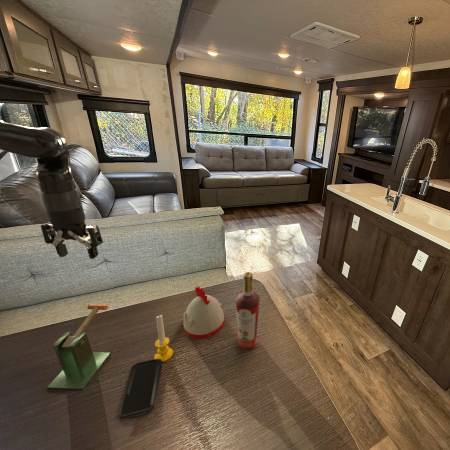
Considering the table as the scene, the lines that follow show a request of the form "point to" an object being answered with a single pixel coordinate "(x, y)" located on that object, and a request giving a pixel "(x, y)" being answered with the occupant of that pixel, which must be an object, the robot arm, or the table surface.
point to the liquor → (247, 314)
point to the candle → (162, 342)
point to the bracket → (76, 363)
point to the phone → (141, 389)
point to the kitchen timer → (203, 316)
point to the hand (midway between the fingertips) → (79, 256)
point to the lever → (84, 324)
